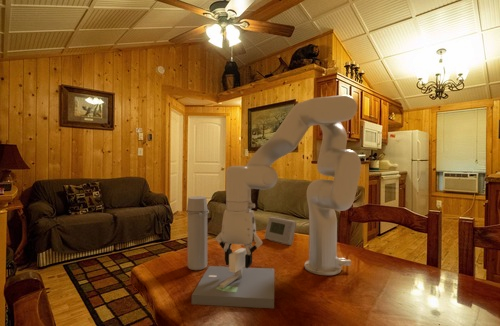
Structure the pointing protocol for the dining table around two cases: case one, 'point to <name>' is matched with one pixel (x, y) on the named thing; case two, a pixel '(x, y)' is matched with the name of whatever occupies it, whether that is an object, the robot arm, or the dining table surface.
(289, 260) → the dining table surface
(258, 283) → the grey square board
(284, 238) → the digital clock
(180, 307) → the dining table surface
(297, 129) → the robot arm
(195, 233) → the water bottle
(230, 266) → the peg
